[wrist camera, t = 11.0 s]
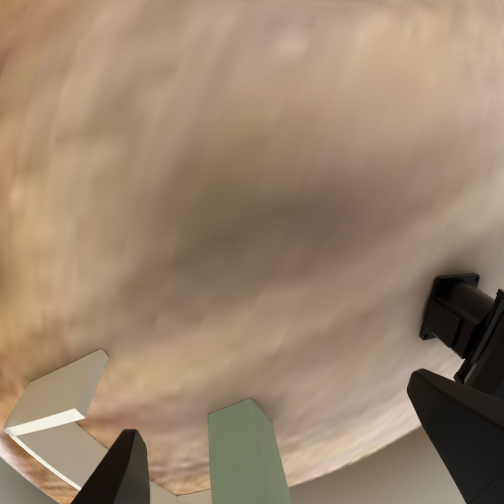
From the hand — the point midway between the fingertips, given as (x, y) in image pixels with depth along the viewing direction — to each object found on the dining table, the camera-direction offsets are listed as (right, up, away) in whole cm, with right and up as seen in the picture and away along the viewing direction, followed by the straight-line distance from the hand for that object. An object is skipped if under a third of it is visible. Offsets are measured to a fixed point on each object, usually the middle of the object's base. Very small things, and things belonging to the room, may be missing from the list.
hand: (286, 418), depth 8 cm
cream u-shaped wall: (-12, -16, +18) cm, 27 cm away
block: (-2, -11, +18) cm, 21 cm away
